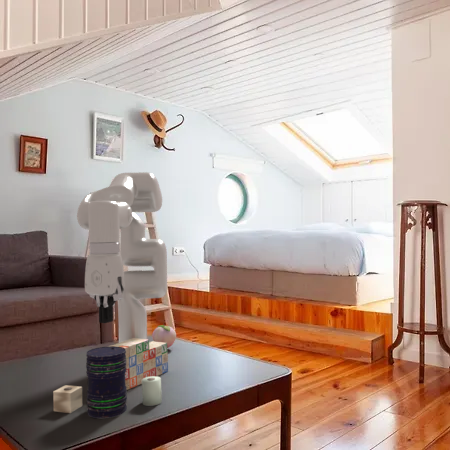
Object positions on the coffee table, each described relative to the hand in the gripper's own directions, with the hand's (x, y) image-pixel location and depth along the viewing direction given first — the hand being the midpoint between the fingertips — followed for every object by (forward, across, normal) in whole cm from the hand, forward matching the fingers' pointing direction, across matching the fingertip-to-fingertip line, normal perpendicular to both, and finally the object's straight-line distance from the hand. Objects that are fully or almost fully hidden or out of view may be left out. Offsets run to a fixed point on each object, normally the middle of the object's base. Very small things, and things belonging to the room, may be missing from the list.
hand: (106, 321), depth 118 cm
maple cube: (+22, -10, -5) cm, 25 cm away
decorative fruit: (+23, -26, +53) cm, 64 cm away
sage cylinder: (+22, +6, +9) cm, 25 cm away
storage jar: (+22, 0, -1) cm, 22 cm away
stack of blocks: (+23, -10, +22) cm, 33 cm away
